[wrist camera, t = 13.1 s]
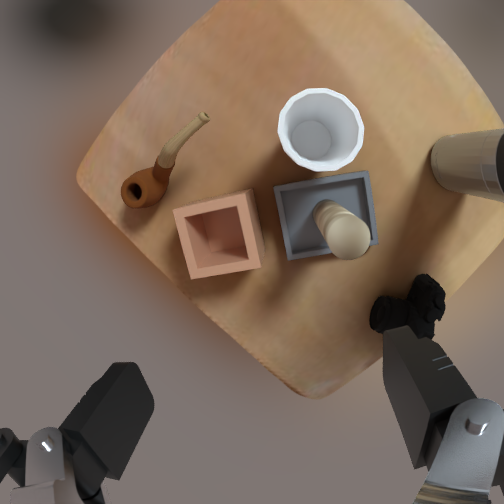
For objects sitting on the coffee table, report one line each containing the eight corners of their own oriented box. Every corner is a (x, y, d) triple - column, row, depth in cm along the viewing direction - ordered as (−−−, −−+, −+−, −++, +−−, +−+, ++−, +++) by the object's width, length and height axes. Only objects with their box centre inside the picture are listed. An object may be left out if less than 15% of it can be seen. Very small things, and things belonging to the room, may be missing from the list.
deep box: (252, 188, 45) (244, 193, 36) (265, 249, 47) (261, 267, 39) (192, 201, 46) (172, 209, 38) (207, 259, 49) (191, 279, 40)
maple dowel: (338, 197, 43) (367, 213, 28) (343, 225, 44) (372, 255, 29) (310, 202, 44) (324, 220, 28) (315, 230, 45) (331, 263, 30)
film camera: (390, 260, 46) (411, 279, 37) (435, 275, 46) (459, 295, 37) (356, 337, 50) (366, 367, 41) (399, 348, 50) (415, 376, 41)
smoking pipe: (162, 206, 48) (139, 183, 48) (227, 117, 38) (198, 92, 38) (135, 221, 42) (111, 195, 41) (202, 118, 32) (170, 91, 32)
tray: (363, 170, 42) (368, 170, 40) (373, 240, 45) (378, 244, 43) (273, 186, 45) (273, 187, 42) (287, 255, 47) (287, 260, 45)
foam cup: (319, 183, 44) (333, 188, 31) (267, 148, 43) (261, 140, 31) (353, 132, 41) (378, 120, 29) (301, 98, 40) (308, 72, 28)
